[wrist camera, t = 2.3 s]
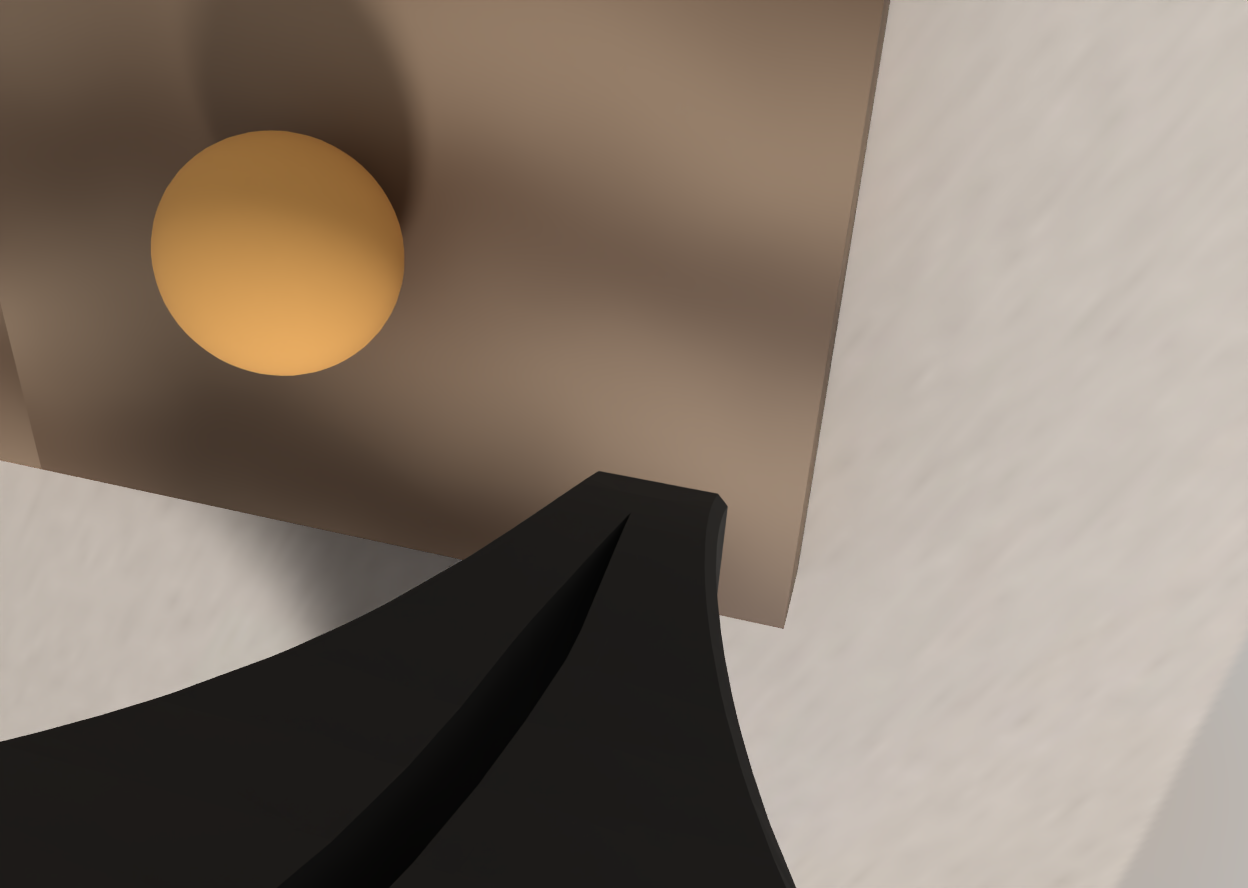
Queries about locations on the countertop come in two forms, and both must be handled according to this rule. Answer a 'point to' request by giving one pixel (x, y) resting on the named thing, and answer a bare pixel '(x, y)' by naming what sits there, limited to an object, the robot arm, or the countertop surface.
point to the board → (452, 256)
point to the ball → (277, 253)
